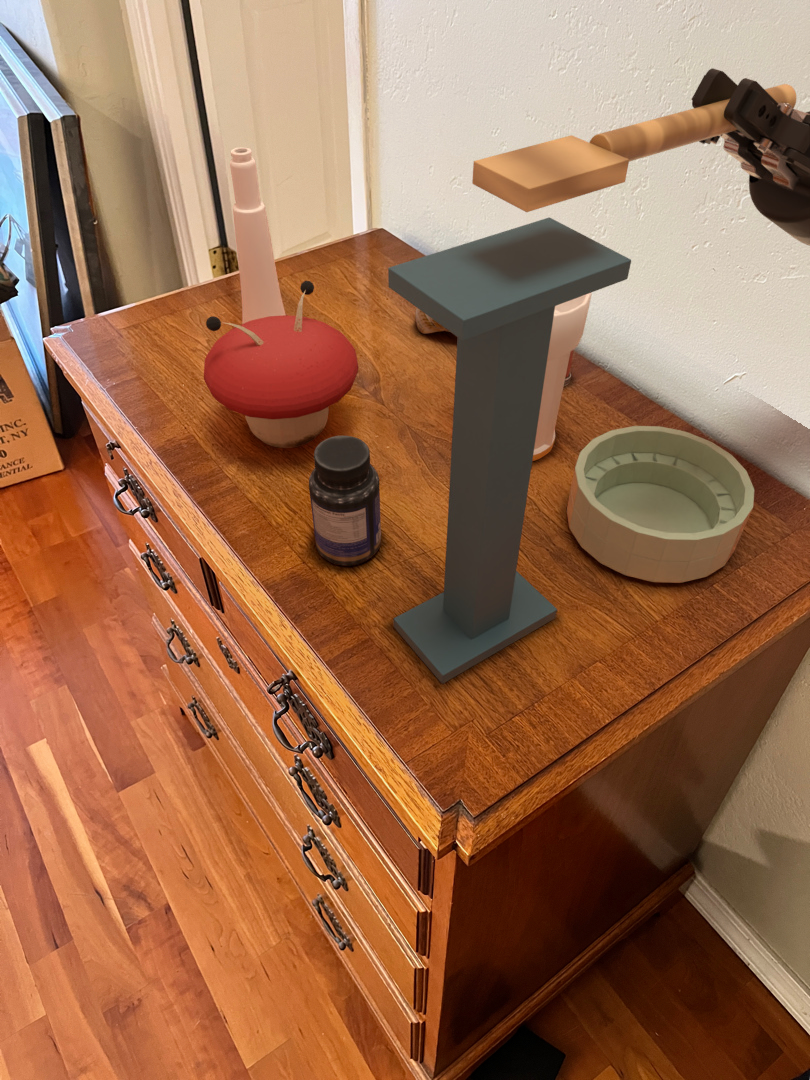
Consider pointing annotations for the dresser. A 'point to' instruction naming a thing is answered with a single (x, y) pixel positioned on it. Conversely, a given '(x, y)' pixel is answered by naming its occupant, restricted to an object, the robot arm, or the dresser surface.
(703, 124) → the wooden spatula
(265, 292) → the cosmetic bottle
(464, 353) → the headphone stand
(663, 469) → the bowl
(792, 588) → the dresser surface
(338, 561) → the pill bottle
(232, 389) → the mushroom
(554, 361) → the cup
